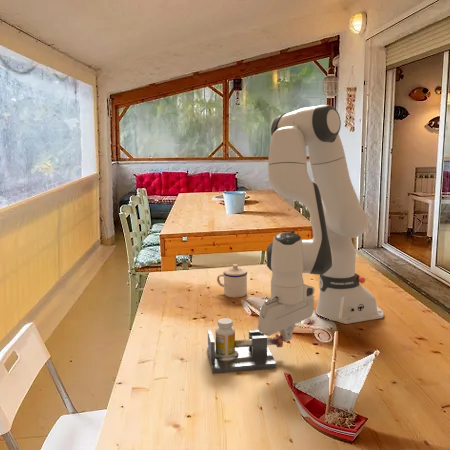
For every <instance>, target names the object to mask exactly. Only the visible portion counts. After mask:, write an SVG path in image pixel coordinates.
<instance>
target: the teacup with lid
mask: <svg viewBox="0 0 450 450" xmlns="http://www.w3.org/2000/svg"><path fill="white" fill-rule="evenodd" d="M247 275H248V271H247V270H246V268H242V267H240V266H239V264H237V263H236V264H235V263H234V264H232V266H230V267H229V268H226V269H224V270H223V273H222V274H221V273H220V274H218V275H217V277H216V282H217V284H218V285H219V287H222V288H223V289H224V290H223V294H224V296H225V297H228V298H234V299H235V298H243V297H245V296H246V295H247V293H248V285H247V284H248V281H247V279H248V276H247ZM220 277H223V283H221V280H220Z"/></svg>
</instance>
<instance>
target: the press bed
mask: <svg viewBox="0 0 450 450" xmlns="http://www.w3.org/2000/svg"><path fill="white" fill-rule="evenodd" d="M267 338H268V335H265V334H262V333H260V331H259V330H258V329H253V330H251V329H249V330H248V339H252V347H239V348H235V354H234V355H233V356H231V357H219V356H218V355H217V354H216V340H215V339H214V335H213V332H212V329H207V345H206V352H207V356H208V360H209V364H210V368H211V372H212V375H214V374H225V373H235V372H236V373H238V372H249V371H262V370H273V369H277V361H276V360H275V358H274V356H273V354H272V352H271V351H270V350H271V349H269V345H267Z"/></svg>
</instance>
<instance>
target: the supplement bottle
mask: <svg viewBox="0 0 450 450" xmlns="http://www.w3.org/2000/svg"><path fill="white" fill-rule="evenodd" d="M233 323H234V322H233V319H231V318H229V317H226V318H225V317H223V318H220V319H218V320H217V327H216V328H215V331H214V332H215V344H216V354H217V355H218V356H219V357H231V356H233V355H234V354H235V340H236V330H235V328H234V326H233Z"/></svg>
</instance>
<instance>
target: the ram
mask: <svg viewBox="0 0 450 450" xmlns="http://www.w3.org/2000/svg"><path fill="white" fill-rule="evenodd" d="M267 346H276V348H283V346H284V341H283V339H282V335H281V333H277V334H276V333H275V336H274V337H267ZM239 347H252V339H249V338H247V339H237V340H236V339H235V348H239Z"/></svg>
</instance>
